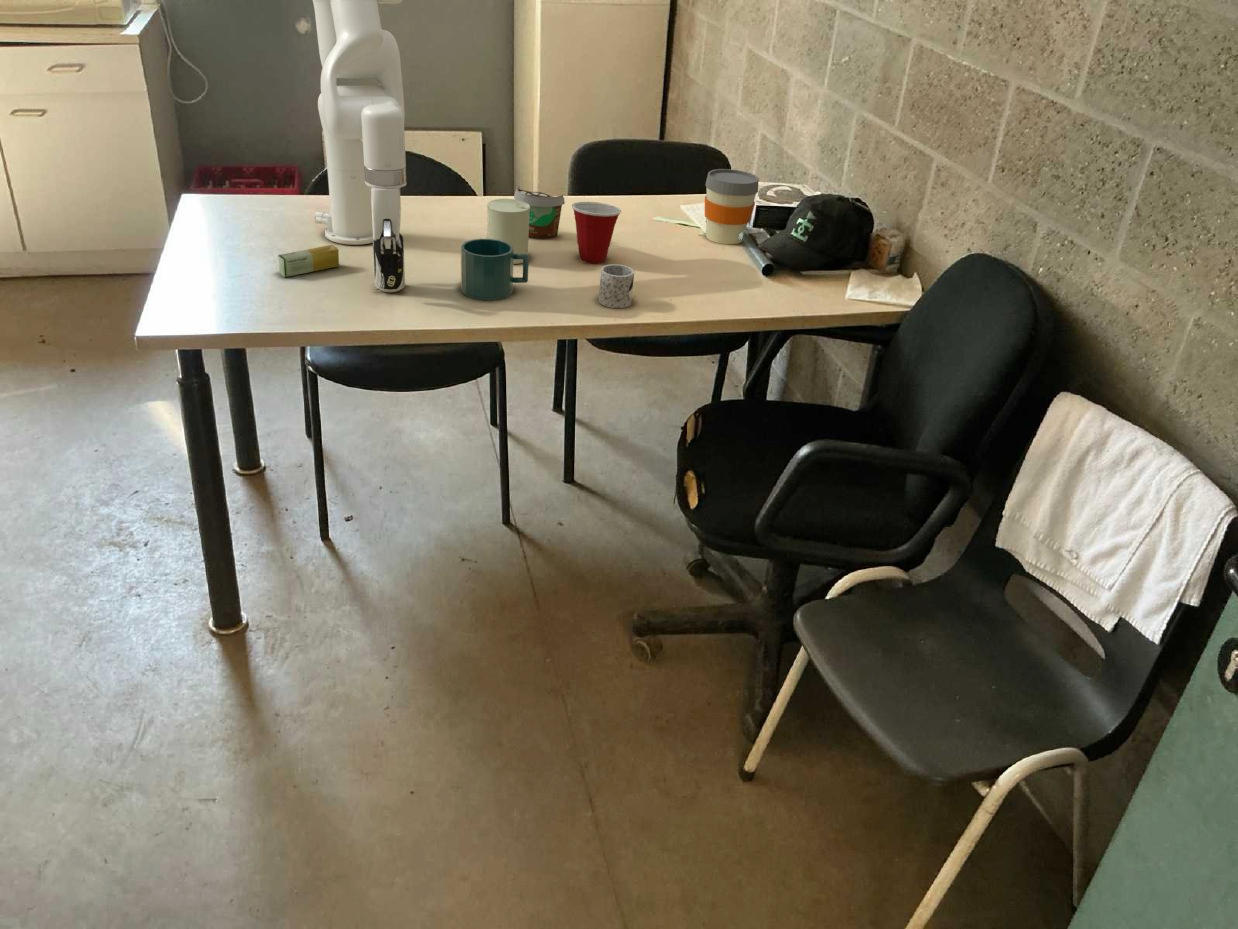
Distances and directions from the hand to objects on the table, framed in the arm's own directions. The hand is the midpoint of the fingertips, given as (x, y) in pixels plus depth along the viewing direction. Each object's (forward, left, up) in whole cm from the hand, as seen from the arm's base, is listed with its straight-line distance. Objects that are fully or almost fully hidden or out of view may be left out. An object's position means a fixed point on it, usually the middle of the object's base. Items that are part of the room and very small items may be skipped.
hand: (389, 264), depth 188 cm
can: (+17, +27, -6) cm, 32 cm away
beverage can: (0, +1, -6) cm, 5 cm away
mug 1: (+19, +7, -5) cm, 21 cm away
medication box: (-18, +4, -6) cm, 19 cm away
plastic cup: (+35, +33, -6) cm, 48 cm away
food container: (+19, +43, -6) cm, 47 cm away
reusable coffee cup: (+62, +59, -6) cm, 86 cm away
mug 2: (+43, +12, -5) cm, 45 cm away
